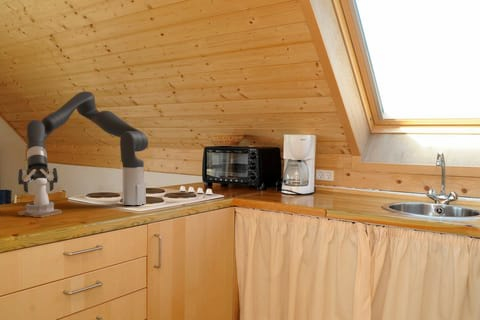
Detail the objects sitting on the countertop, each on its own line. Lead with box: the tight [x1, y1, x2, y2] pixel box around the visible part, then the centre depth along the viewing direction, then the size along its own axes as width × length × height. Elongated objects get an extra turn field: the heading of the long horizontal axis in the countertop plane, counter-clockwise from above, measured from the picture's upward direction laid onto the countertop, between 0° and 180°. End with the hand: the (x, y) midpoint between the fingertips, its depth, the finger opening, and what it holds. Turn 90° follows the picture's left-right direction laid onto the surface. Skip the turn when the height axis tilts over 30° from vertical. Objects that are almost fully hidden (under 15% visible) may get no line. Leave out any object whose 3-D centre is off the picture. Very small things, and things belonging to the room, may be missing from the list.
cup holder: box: [17, 201, 62, 218], centre depth 159 cm, size 12×10×4 cm
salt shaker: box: [33, 178, 50, 205], centre depth 160 cm, size 6×6×13 cm
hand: (38, 190), depth 159 cm, fingers open, 8 cm apart
